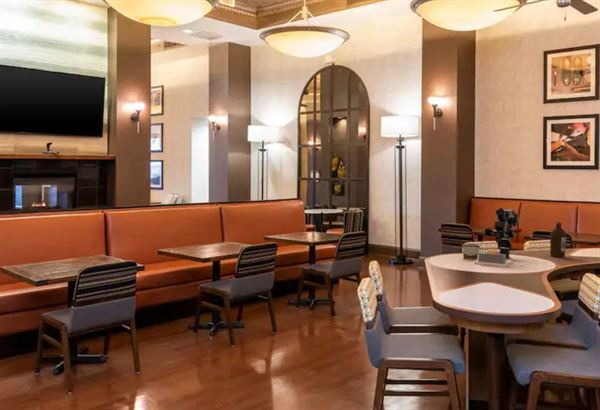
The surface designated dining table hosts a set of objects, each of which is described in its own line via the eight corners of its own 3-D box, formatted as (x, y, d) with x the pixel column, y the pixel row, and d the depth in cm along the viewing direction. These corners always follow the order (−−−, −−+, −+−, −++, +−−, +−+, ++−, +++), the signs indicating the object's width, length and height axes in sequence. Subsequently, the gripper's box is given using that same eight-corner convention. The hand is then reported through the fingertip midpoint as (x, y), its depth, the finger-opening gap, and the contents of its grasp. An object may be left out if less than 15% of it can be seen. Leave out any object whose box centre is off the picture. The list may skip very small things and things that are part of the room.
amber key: (489, 253, 372) (489, 249, 372) (496, 254, 369) (496, 249, 369) (487, 254, 368) (487, 250, 368) (494, 255, 366) (495, 250, 365)
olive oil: (546, 256, 407) (548, 222, 405) (552, 255, 414) (554, 221, 413) (561, 258, 399) (563, 223, 398) (567, 256, 407) (569, 222, 405)
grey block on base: (482, 260, 386) (482, 249, 386) (512, 262, 375) (513, 252, 375) (474, 263, 371) (474, 253, 370) (505, 266, 360) (506, 255, 359)
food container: (477, 257, 396) (478, 243, 395) (479, 259, 390) (480, 245, 389) (459, 257, 397) (460, 243, 397) (461, 258, 391) (461, 244, 390)
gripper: (485, 216, 386) (480, 233, 377) (513, 217, 375) (509, 235, 367) (488, 226, 393) (483, 244, 384) (516, 228, 382) (511, 246, 374)
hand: (496, 242), depth 377 cm, fingers closed
